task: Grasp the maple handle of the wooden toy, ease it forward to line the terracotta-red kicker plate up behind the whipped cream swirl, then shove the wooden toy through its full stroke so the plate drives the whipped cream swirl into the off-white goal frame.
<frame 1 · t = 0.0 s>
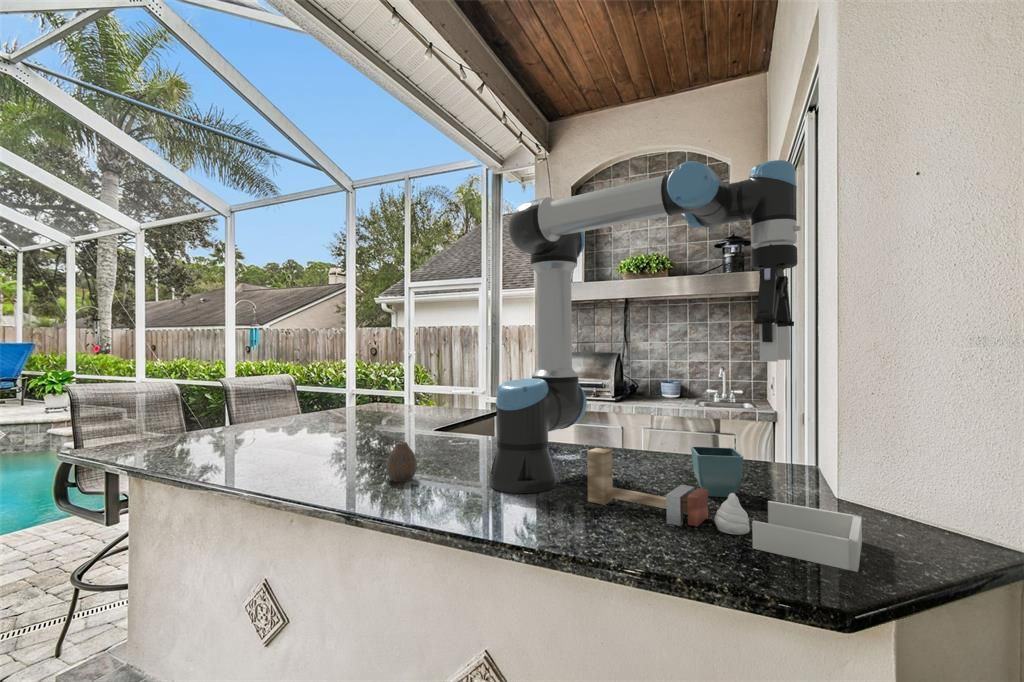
hand: (775, 360, 90), 28 cm above the worktop, fingers open, 13 cm apart
brown egg shape: (402, 480, 114), on the worktop
flower pot: (716, 495, 101), on the worktop
whipped cream swirl: (731, 531, 81), on the worktop
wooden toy: (643, 483, 91), point 5 cm above the worktop, slide at 0.0 cm
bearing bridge: (681, 518, 86), on the worktop
goal: (808, 545, 74), on the worktop
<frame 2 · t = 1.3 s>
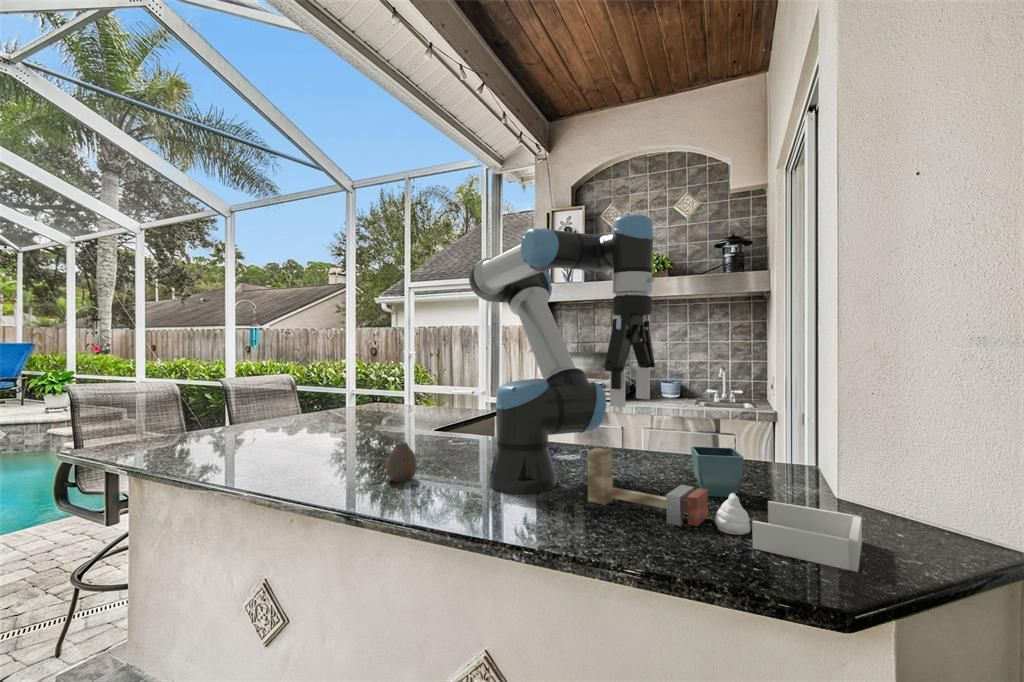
hand: (630, 402, 96), 20 cm above the worktop, fingers open, 13 cm apart
nothing on the worktop moved.
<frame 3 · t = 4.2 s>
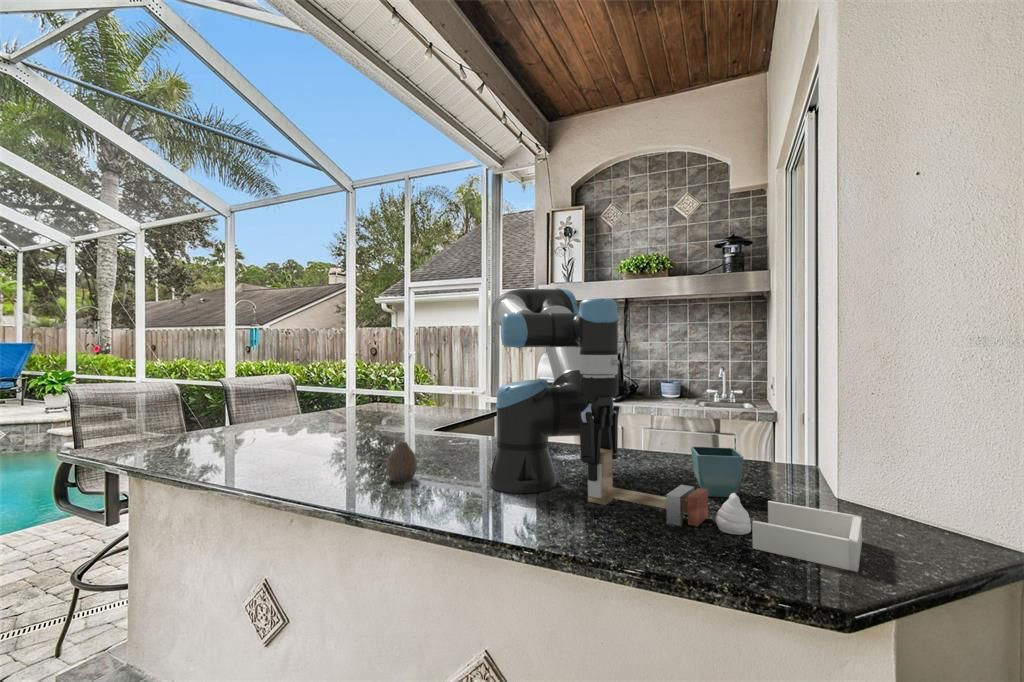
hand: (600, 493, 96), 2 cm above the worktop, fingers closed on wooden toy, 4 cm apart
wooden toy: (643, 483, 91), point 5 cm above the worktop, slide at 0.0 cm, touching gripper
everything else where it was.
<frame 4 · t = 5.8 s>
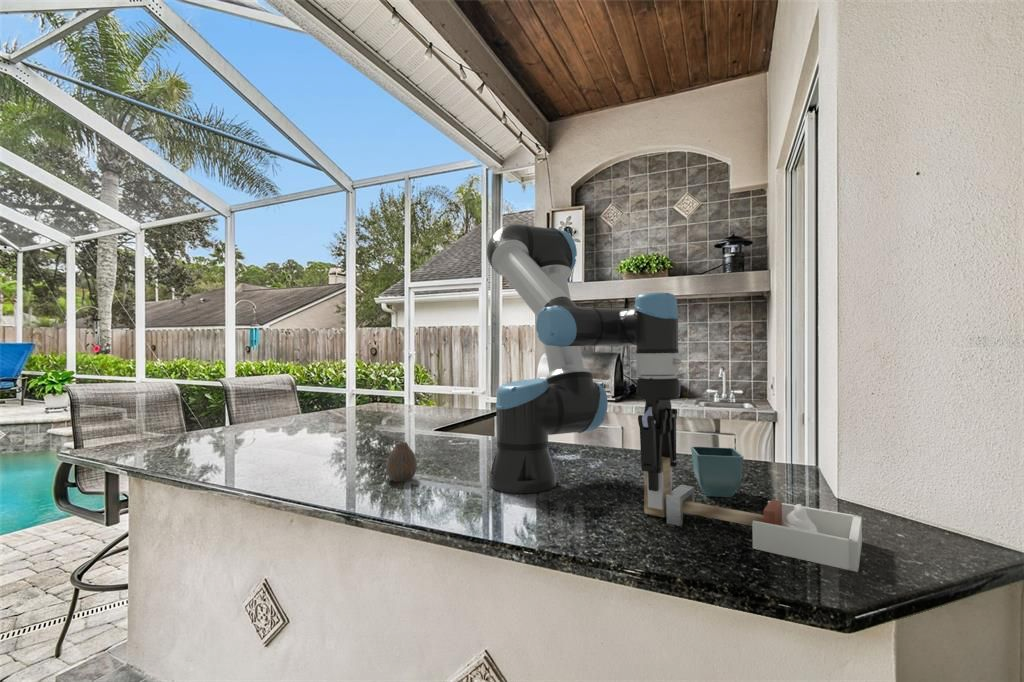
hand: (660, 504, 89), 2 cm above the worktop, fingers closed on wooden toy, 4 cm apart
whipped cream swirl: (798, 545, 75), on the worktop
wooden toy: (708, 494, 83), point 5 cm above the worktop, slide at 11.7 cm, touching gripper
everything else where it was.
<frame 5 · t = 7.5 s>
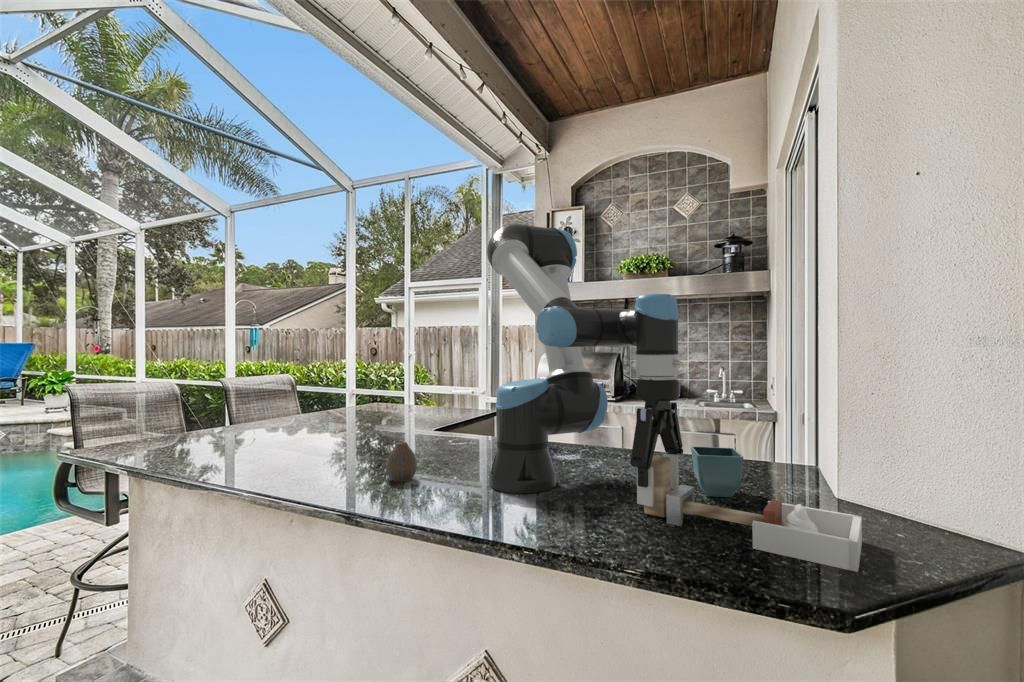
hand: (658, 496, 89), 3 cm above the worktop, fingers open, 12 cm apart
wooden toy: (708, 494, 83), point 5 cm above the worktop, slide at 11.7 cm
everything else where it was.
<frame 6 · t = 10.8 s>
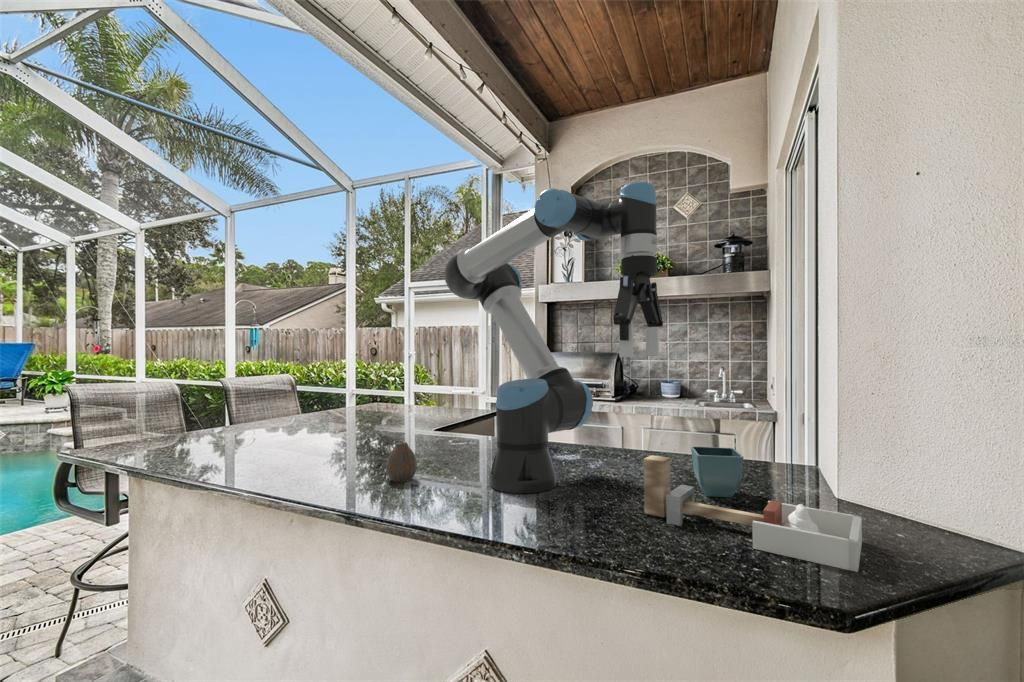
hand: (640, 356, 103), 29 cm above the worktop, fingers open, 13 cm apart
nothing on the worktop moved.
at the end: whipped cream swirl inside the target area (0.9 cm from its centre), on the worktop; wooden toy slide at 11.7 cm; the gripper is holding nothing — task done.
